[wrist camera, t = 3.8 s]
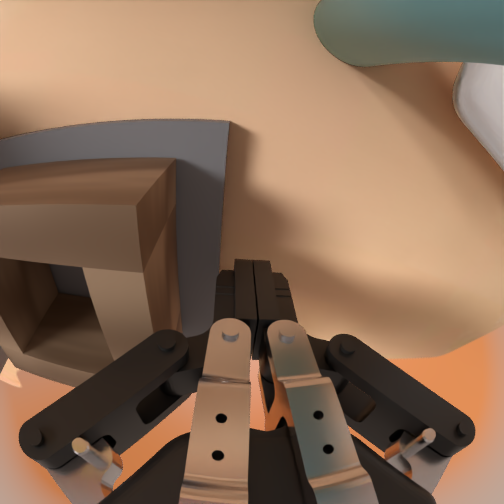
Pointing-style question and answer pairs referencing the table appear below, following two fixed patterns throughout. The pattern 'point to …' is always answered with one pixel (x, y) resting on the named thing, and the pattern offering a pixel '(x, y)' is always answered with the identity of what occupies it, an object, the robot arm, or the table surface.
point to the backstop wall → (2, 358)
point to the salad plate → (482, 105)
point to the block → (86, 262)
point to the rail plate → (187, 192)
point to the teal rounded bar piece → (411, 31)
